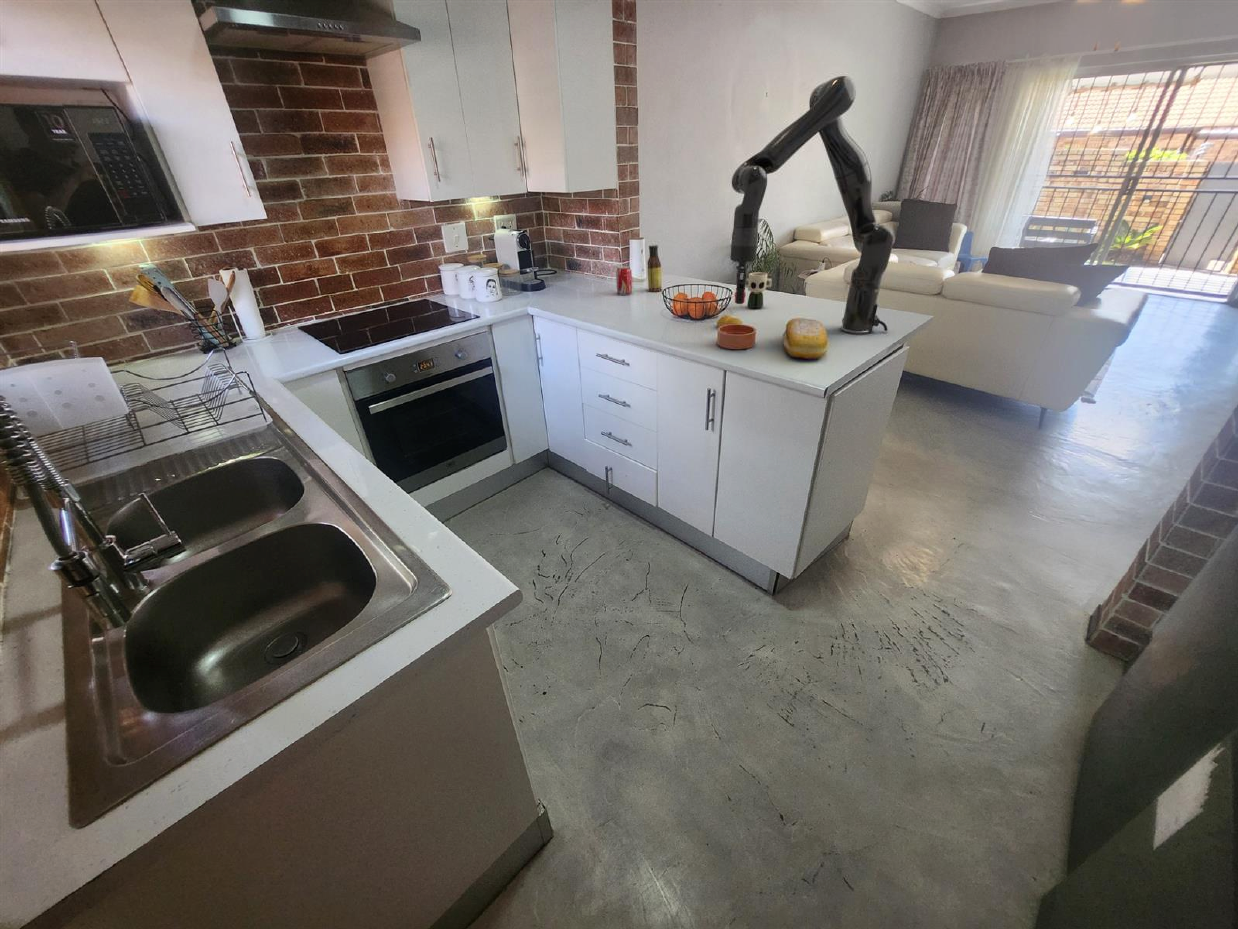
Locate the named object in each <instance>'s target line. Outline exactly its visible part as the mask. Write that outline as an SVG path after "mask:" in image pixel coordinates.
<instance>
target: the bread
mask: <svg viewBox="0 0 1238 929" xmlns="http://www.w3.org/2000/svg"><path fill="white" fill-rule="evenodd" d="M782 343H783V347H784V349H785V351H786V352H787V354H788V355H790V357H793V358H799V359H805V360H811V359H815V360H816V359H821V358H823V357H824V356H826V354H827V352H828V349H829V347H828V346H829V343H828V335H827V330H826V329H825V326H824V324H823V322H821V321H819V320H816V319H812V318H806V317H796V318H792V319H790V320H789V321H787V323H786V324H785V330H784V332H783V334H782Z"/></svg>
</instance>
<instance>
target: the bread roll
mask: <svg viewBox="0 0 1238 929" xmlns="http://www.w3.org/2000/svg"><path fill="white" fill-rule="evenodd" d="M730 324H743V321H742V319H740V318H737V317H733V316H731V315H723V316H721V317H720V318H719V319H717V321H716V325H717V327H718V328H719V327H721V326H724V325H730Z"/></svg>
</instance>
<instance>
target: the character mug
mask: <svg viewBox="0 0 1238 929" xmlns="http://www.w3.org/2000/svg"><path fill="white" fill-rule="evenodd" d="M772 279H773V278H768V273H767V272H761V271H759V272H758V271H757V272H756V271H755V272H751V273H748V277H747V283H746V284H745V288H747V291H748V292H749V295H748V299H747V304H746V306H747V307H748V308H749V309H755V307H756V309H761V308H763V307H764V293H763V292H765V291H766V290H767V288H771V287H772V281H773V280H772ZM767 282H768V284H767Z"/></svg>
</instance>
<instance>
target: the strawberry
mask: <svg viewBox="0 0 1238 929" xmlns="http://www.w3.org/2000/svg"><path fill="white" fill-rule="evenodd" d="M736 295H737V292H736V291H735V292H734V303H735V304H736ZM745 300H746V290H745V291H744V299H743V304H744V303H746V302H745Z"/></svg>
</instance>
